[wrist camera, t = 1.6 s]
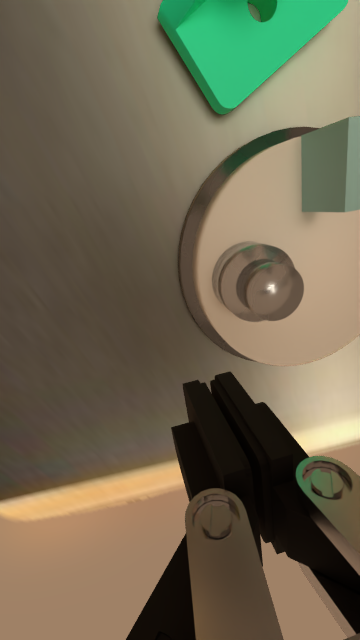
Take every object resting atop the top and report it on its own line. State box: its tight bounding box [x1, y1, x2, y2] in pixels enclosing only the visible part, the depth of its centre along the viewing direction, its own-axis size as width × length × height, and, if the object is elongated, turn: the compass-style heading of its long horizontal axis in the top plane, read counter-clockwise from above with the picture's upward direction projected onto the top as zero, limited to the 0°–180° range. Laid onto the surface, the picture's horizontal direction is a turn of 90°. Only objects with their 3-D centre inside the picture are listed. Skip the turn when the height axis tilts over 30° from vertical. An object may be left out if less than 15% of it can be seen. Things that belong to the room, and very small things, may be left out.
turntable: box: [192, 116, 360, 366], centre depth 26 cm, size 20×20×7 cm
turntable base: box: [178, 127, 320, 362], centre depth 30 cm, size 22×22×1 cm
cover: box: [212, 241, 304, 322], centre depth 24 cm, size 6×6×5 cm
